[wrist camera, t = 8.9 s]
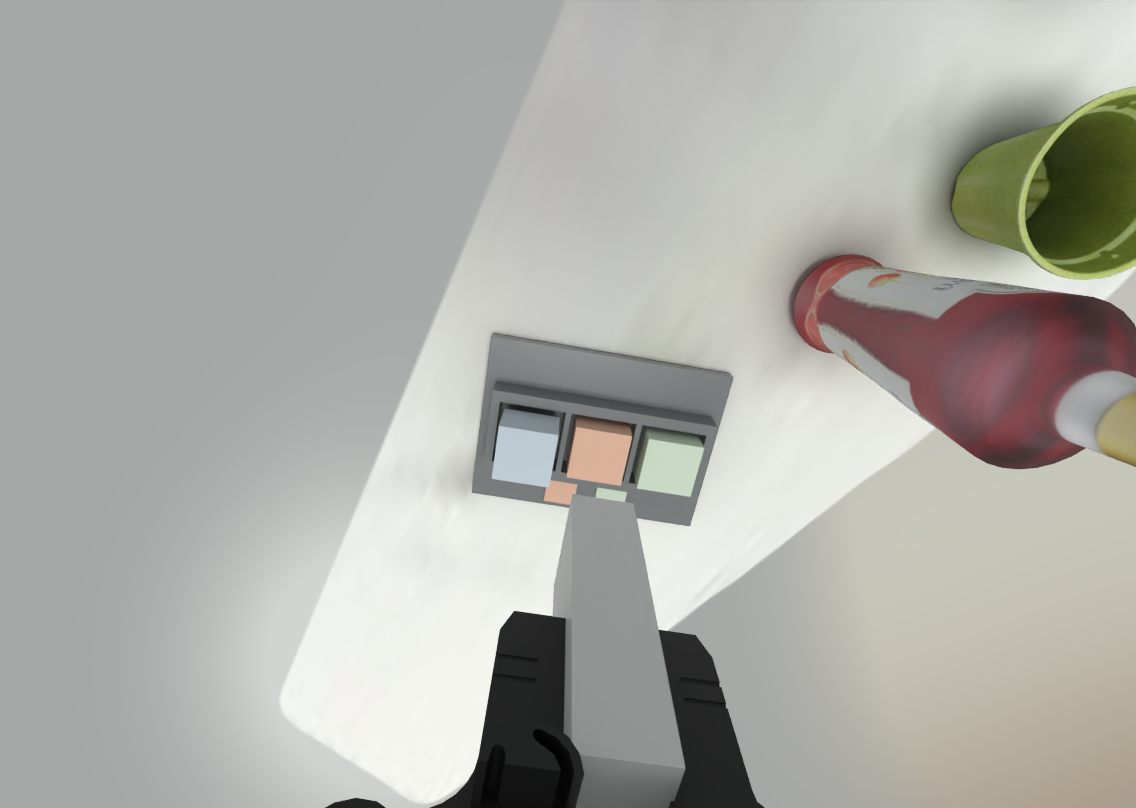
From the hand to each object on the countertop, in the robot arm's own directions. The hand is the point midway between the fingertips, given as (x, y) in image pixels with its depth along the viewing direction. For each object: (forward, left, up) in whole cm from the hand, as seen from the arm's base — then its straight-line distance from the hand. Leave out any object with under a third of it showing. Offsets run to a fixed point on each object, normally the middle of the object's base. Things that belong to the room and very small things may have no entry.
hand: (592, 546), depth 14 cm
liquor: (-4, +18, -29) cm, 34 cm away
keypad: (+9, +3, -28) cm, 30 cm away
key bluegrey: (+9, -2, -25) cm, 27 cm away
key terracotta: (+9, +3, -27) cm, 29 cm away
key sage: (+9, +8, -27) cm, 30 cm away
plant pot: (-13, +26, -29) cm, 41 cm away
